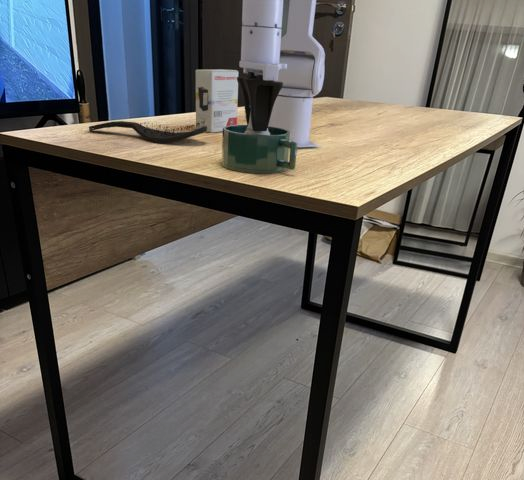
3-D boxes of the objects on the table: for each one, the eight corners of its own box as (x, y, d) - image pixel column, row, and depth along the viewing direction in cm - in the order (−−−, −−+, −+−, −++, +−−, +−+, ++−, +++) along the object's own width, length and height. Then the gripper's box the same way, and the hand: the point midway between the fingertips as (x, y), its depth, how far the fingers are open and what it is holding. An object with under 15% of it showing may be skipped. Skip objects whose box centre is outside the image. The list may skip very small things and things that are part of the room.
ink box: (221, 126, 121) (223, 68, 115) (238, 130, 119) (240, 70, 113) (194, 129, 116) (194, 68, 110) (211, 133, 113) (211, 70, 107)
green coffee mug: (208, 163, 86) (208, 127, 83) (254, 157, 93) (256, 123, 90) (270, 180, 78) (272, 140, 76) (315, 172, 85) (319, 135, 82)
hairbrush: (100, 113, 109) (213, 118, 102) (102, 132, 111) (214, 139, 104) (75, 117, 102) (195, 124, 95) (78, 138, 104) (196, 145, 97)
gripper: (303, 29, 72) (294, 137, 79) (276, 29, 84) (270, 122, 91) (251, 25, 70) (247, 136, 77) (231, 26, 82) (229, 121, 89)
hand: (256, 128), depth 84 cm, fingers closed on rook chess piece, 3 cm apart
